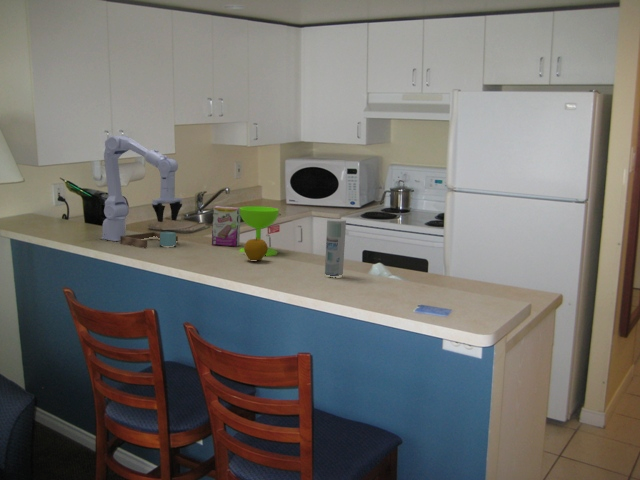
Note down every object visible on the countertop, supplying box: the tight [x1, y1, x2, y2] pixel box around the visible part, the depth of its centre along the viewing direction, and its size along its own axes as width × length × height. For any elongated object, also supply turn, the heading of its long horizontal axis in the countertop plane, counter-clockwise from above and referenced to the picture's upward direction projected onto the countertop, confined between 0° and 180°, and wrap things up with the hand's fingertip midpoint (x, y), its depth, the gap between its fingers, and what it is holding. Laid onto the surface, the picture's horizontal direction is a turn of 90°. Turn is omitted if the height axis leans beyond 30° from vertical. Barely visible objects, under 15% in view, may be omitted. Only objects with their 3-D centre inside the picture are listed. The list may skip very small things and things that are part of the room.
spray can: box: [324, 218, 347, 276], centre depth 231 cm, size 6×6×20 cm
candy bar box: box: [211, 205, 241, 248], centre depth 283 cm, size 11×5×16 cm, turn 84°
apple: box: [243, 237, 269, 261], centre depth 252 cm, size 9×9×9 cm
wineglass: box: [238, 206, 280, 257], centre depth 270 cm, size 16×16×18 cm
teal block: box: [159, 231, 177, 246], centre depth 273 cm, size 5×4×6 cm
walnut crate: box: [119, 231, 179, 249], centre depth 280 cm, size 15×18×3 cm
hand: (167, 221), depth 275 cm, fingers open, 7 cm apart
